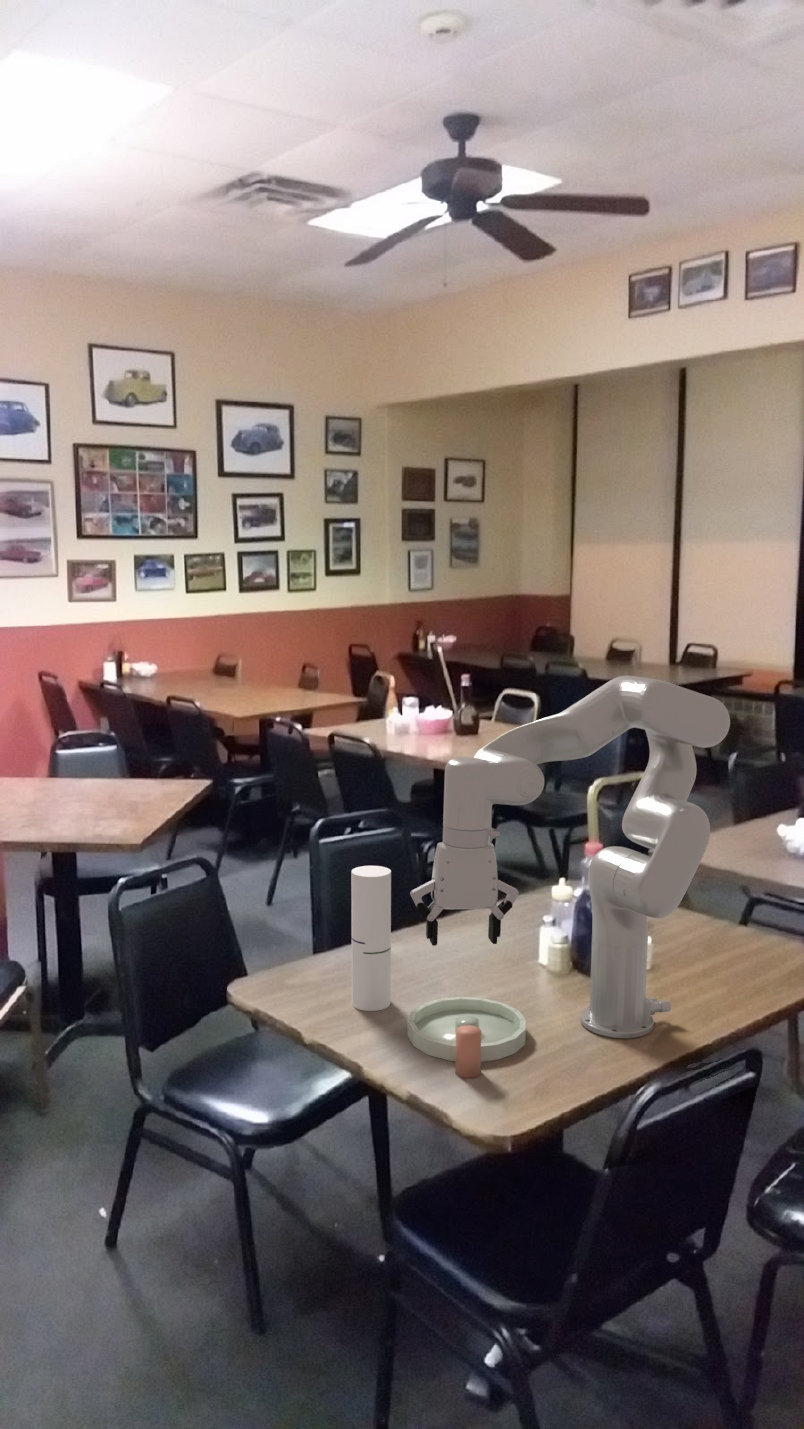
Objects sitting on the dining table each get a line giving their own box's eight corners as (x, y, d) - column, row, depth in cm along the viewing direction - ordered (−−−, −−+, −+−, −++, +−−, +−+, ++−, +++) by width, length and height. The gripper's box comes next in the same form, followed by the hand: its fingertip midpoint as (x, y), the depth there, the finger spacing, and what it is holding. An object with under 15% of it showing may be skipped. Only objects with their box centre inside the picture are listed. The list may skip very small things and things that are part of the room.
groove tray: (502, 1005, 195) (502, 992, 195) (543, 1054, 176) (543, 1039, 176) (396, 1016, 190) (396, 1002, 190) (426, 1067, 171) (426, 1052, 171)
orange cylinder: (475, 1065, 172) (476, 1024, 171) (483, 1076, 168) (484, 1034, 167) (452, 1068, 171) (452, 1026, 170) (459, 1079, 167) (460, 1037, 166)
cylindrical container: (365, 992, 201) (365, 863, 198) (397, 1000, 197) (398, 869, 194) (344, 1005, 195) (343, 872, 191) (377, 1014, 191) (377, 879, 188)
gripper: (514, 830, 172) (509, 932, 175) (408, 831, 170) (405, 935, 172) (526, 842, 165) (522, 948, 167) (416, 843, 162) (413, 951, 165)
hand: (463, 941), depth 170 cm, fingers open, 9 cm apart
